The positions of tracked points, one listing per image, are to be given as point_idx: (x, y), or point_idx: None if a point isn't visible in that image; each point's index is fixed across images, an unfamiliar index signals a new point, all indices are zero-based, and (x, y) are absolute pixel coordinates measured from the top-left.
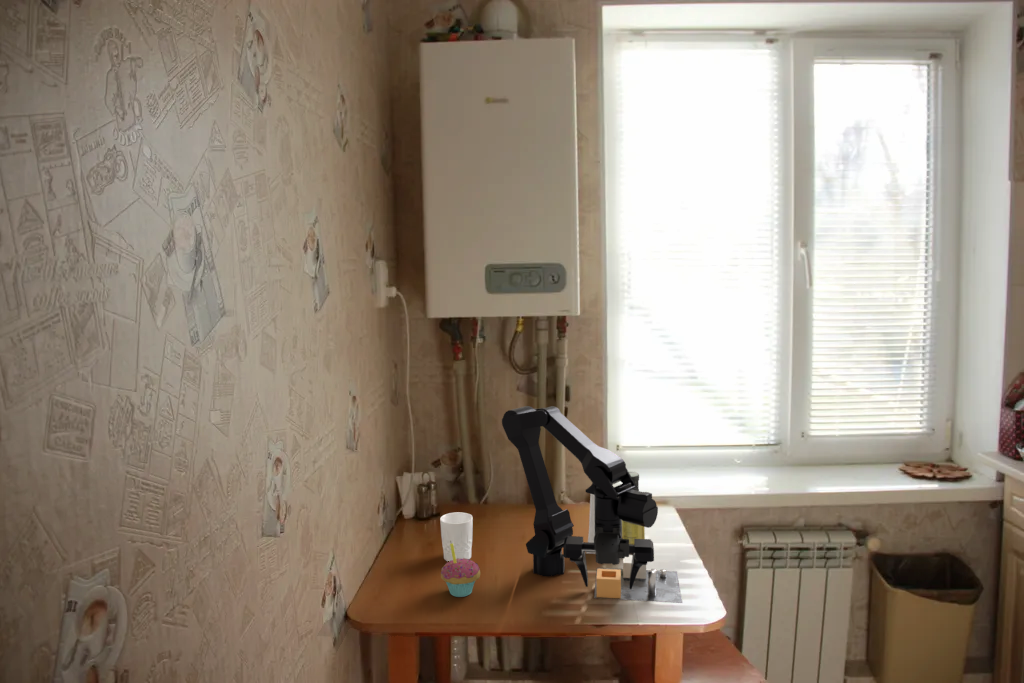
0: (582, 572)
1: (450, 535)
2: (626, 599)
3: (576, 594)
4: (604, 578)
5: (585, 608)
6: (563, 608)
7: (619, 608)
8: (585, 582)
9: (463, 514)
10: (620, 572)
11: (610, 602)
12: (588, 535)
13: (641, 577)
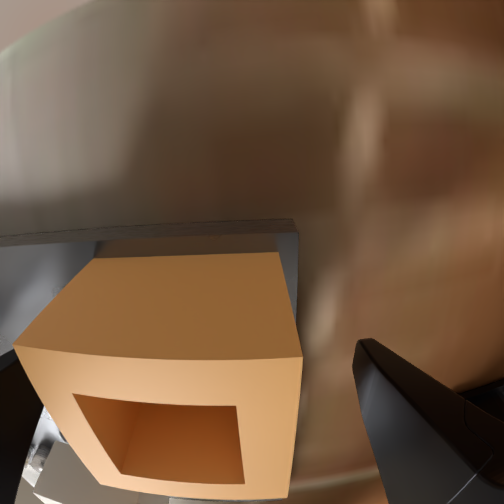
0: (462, 409)
1: None
2: (55, 244)
3: (398, 318)
4: (188, 373)
5: (351, 136)
6: (474, 134)
7: (107, 176)
8: (389, 355)
9: None
10: (80, 458)
11: None
12: None
13: (69, 447)
